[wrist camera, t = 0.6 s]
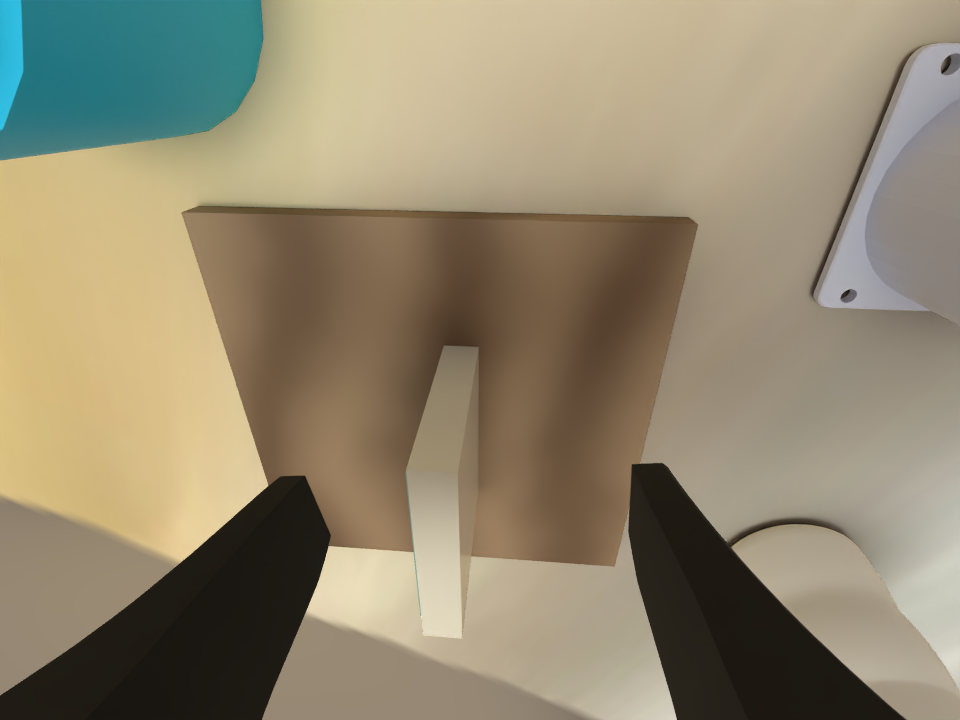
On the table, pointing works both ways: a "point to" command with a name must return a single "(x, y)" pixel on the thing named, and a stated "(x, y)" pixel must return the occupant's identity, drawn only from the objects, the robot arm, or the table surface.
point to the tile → (445, 491)
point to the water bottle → (852, 615)
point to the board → (418, 347)
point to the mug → (121, 70)
